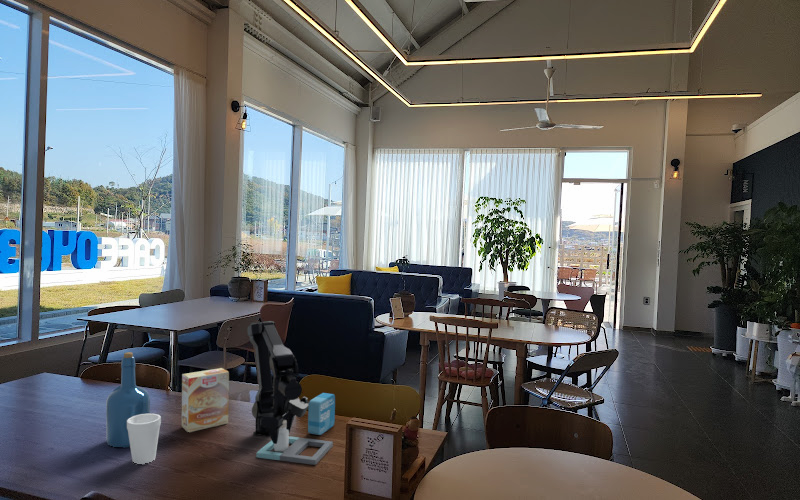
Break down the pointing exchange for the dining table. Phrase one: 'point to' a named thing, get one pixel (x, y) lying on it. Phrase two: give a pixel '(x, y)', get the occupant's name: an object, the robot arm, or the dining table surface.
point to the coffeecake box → (205, 399)
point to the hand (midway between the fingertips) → (281, 438)
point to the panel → (296, 451)
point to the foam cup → (143, 437)
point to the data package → (321, 413)
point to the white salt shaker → (282, 438)
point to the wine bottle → (125, 404)
